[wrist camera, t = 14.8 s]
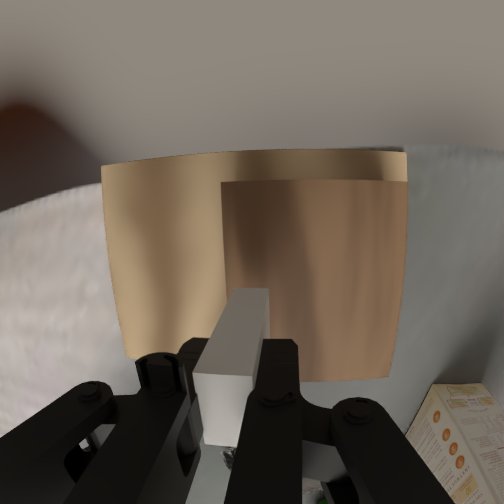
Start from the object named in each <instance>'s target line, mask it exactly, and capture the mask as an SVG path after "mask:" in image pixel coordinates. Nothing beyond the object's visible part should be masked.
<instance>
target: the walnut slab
mask: <svg viewBox="0 0 504 504" xmlns="http://www.w3.org/2000/svg"><path fill="white" fill-rule="evenodd" d="M221 205H222V226H223V245H224V263H225V280H226V296H227V302H228V300H229V298H230V296H231V294H232V292H233V290H234V288H269V323H270V339H292V340H293V341H294V342H295V343H296V344H297V345H298V356H299V382H319V381H343V380H359V379H372V378H383V377H389V373H390V369H391V364H392V358H393V353H394V347H395V342H396V336H397V329H398V323H399V316H400V309H401V301H402V292H403V283H404V273H405V261H406V246H407V226H408V182H405V181H381V180H338V179H298V180H254V181H230V182H221Z"/></svg>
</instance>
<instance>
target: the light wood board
mask: <svg viewBox="0 0 504 504" xmlns="http://www.w3.org/2000/svg"><path fill="white" fill-rule="evenodd" d="M101 176H102V195H103V210H104V221H105V232H106V241H107V250H108V258H109V265H110V273H111V279H112V286H113V292H114V298H115V304H116V309H117V314H118V320H119V325H120V330H121V334H122V339H123V344H124V348H125V352H126V357H128V358H135V359H139V358H140V357H143V356H145V355H147V354H151V353H156V352H168V353H173V354H177V353H178V351H179V349H180V348H181V346H182V345H183V343H185V342H186V341H188V340H189V339H191V338H192V337H199V338H210V336H211V334H212V332H213V330H214V328H215V326H216V324H217V322H218V320H219V318H220V316H221V314H222V312H223V310H224V308H225V306H226V304H227V296H226V280H225V263H224V245H223V226H222V205H221V182H230V181H254V180H298V179H338V180H381V181H405V182H407V158H406V152H393V151H375V150H350V149H276V150H247V151H229V152H215V153H202V154H190V155H180V156H171V157H162V158H153V159H145V160H137V161H130V162H123V163H116V164H110V165H104V166H101Z"/></svg>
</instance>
